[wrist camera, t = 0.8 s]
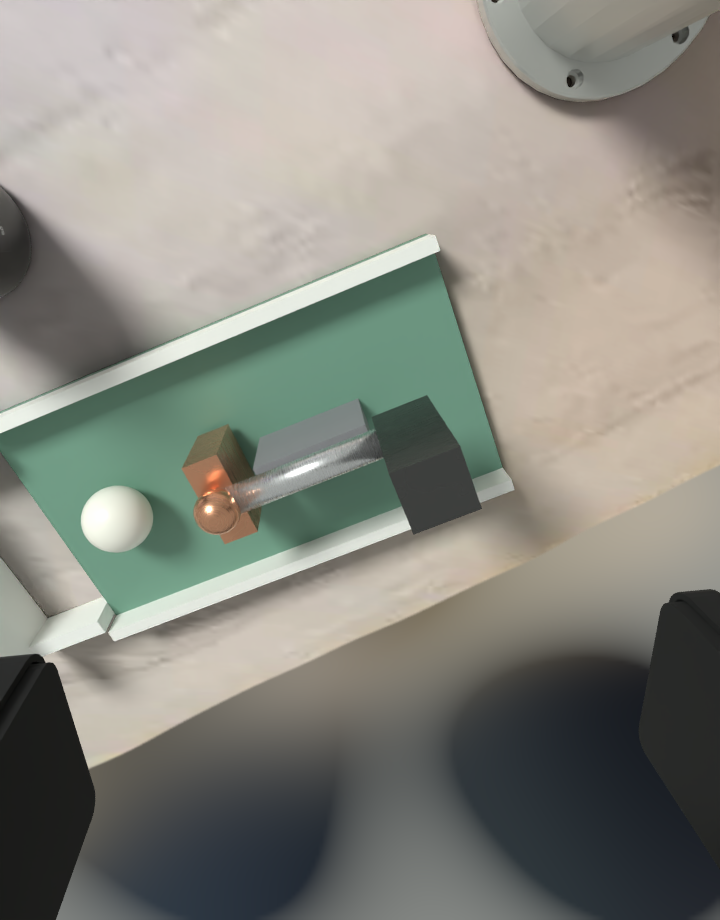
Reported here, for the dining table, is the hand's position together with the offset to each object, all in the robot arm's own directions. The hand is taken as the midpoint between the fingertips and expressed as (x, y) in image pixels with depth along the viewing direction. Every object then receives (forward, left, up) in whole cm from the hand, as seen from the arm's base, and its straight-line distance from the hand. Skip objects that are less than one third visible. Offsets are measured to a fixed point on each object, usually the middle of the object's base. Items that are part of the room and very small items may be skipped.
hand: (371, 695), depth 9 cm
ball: (+15, +5, -25) cm, 30 cm away
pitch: (+9, +5, -28) cm, 30 cm away
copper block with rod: (+3, +5, -26) cm, 27 cm away
